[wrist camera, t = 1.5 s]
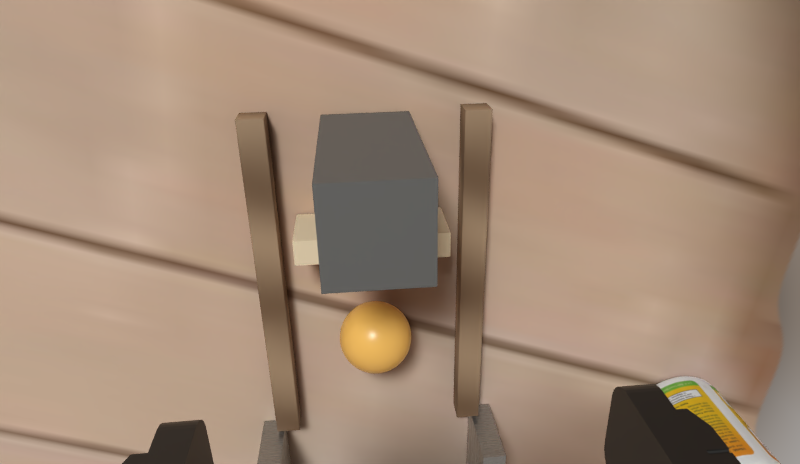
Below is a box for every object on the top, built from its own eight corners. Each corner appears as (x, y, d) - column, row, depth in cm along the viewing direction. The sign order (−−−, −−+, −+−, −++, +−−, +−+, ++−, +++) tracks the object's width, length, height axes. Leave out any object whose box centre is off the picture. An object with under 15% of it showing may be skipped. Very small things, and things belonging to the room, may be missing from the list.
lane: (239, 113, 27) (234, 119, 26) (486, 103, 28) (492, 109, 26) (279, 416, 34) (277, 431, 33) (473, 401, 35) (478, 415, 34)
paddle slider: (286, 116, 27) (263, 186, 19) (441, 109, 27) (484, 175, 19) (298, 237, 29) (283, 345, 21) (440, 229, 30) (477, 331, 22)
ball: (337, 290, 31) (337, 329, 28) (407, 285, 31) (414, 324, 28) (342, 347, 32) (342, 391, 29) (408, 343, 33) (415, 385, 29)
